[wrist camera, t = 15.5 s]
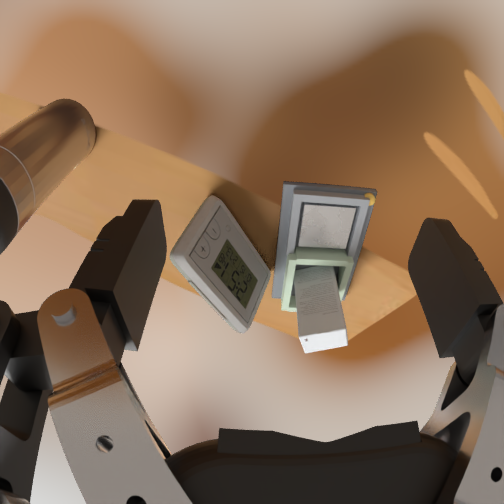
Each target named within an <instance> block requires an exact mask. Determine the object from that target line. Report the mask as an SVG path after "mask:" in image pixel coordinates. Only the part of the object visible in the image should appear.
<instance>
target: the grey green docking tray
mask: <svg viewBox="0 0 504 504" xmlns="http://www.w3.org/2000/svg"><path fill="white" fill-rule="evenodd" d="M376 195H377V191H376V189H370V188H361V187H351V186H339V185H329V184H317V183H303V182H286V181H284V183H283V192H282V203H281V213H280V223H279V232H278V242H277V252H276V261H275V270H274V279H273V288H272V298H281V308H282V310H286V311H288V312H297V308H296V297H295V285H294V273H295V270H300V269H305V268H309V267H314V266H319V265H321V266H333V267H334V272H335V276H336V281H337V285H338V290H339V295H340V300H341V301H342V300H345V297H346V294H347V291H348V288H349V285H350V282H351V279H352V276H353V273H354V270H355V267H356V264H357V261H358V257H359V254H360V251H361V248H362V244H363V241H364V238H365V234H366V231H367V227H368V224H369V221H370V217H371V213H372V210H373V206H374V203H375V199H376ZM304 202H312V203H326V204H339V205H351V206H355V207H356V210H355V214H354V218H353V222H352V226H351V230H350V234H349V238H348V242H347V245H346V249H339V248H320V247H301V246H298V239H299V233H300V226H301V219H302V212H303V205H304Z"/></svg>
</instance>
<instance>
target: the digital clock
mask: <svg viewBox="0 0 504 504" xmlns="http://www.w3.org/2000/svg"><path fill="white" fill-rule="evenodd" d="M170 260H171V262H172V263H173V265H174V266H175V267H176V268H177V269H178V270H179V271H180V273H181V274H182V275H183V276H184V277H185V278H186V279H187V280H188V282H189V283H190V285H191V286H192V287H193V288H194V289H195V290H196V291H197V292H198V293H199V294H200V295H201V296H202V298H203V299H204V300H205V301H206V302H207V303H208V304H209V305H210V306H211V307H212V308H213V309H214V310H215V311H216V312H217V314H218V315H219V316H220V317H221V318H222V319H223V320H225V321H226V322H227V323H228V324H229V325H230V326H231V327H232V328H233V329H234V330H235V331H237V332H239V333H245V332H246V331H247V330H248V329H249V327H250V326H251V323H252V321H253V319H254V316H255V314H256V312H257V309H258V307H259V304H260V302H261V299H262V297H263V294H264V292H265V289H266V287H267V284H268V282H269V279H270V275H271V273H270V270H269V269H268V267H267V266H266V264H265V262H264V261H263V259H262V258H261V257H260V255H259V254H258V252H257V251H256V249H255V248H254V246H253V245H252V243H251V242H250V240H249V239H248V238H247V236H246V235H245V233H244V232H243V230H242V229H241V227H240V226H239V224H238V223H237V221H236V220H235V219H234V217H233V216H232V214H231V213H230V211H229V210H228V208H227V207H226V206H225V204H224V203H223V202H222V201H221V200H220V199H219V198H217V197H216V196H214V195H211V196H209V197H208V198H206V199H205V201H204V202H203V203H202V205H201V206H200V208H199V209H198V211H197V212H196V214H195V215H194V217H193V218H192V220H191V221H190V223H189V224H188V225H187V227H186V228H185V230H184V232H183V233H182V235H181V236H180V238H179V239H178V241H177V242H176V244H175V245H174V247H173V249H172V251H171V253H170Z"/></svg>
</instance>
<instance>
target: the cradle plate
mask: <svg viewBox="0 0 504 504" xmlns="http://www.w3.org/2000/svg"><path fill="white" fill-rule="evenodd" d="M355 210H356V207H355V206H351V205H339V204H326V203H312V202H304V205H303V212H302V219H301V226H300V233H299V239H298V246H301V247H320V248H339V249H346V245H347V242H348V238H349V234H350V230H351V226H352V222H353V218H354V214H355Z"/></svg>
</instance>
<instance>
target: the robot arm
mask: <svg viewBox="0 0 504 504" xmlns="http://www.w3.org/2000/svg"><path fill="white" fill-rule="evenodd" d="M95 137H96V132H95V125H94V122H93V119H92V117H91V115H90V114H89V112H88V111H87V110H86V108H84V107H83V106H82V105H81V104H80V103H78V102H76V101H74V100H70V99H60V100H56V101H54V102H52V103H50V104H48V105H47V106H45V107H43V108H42V109H40V110H38V111H36V112H35V113H33V114H31V115H30V116H28V117H27V118H25V119H23V120H22V121H20V122H19V123H17V124H16V125H14V126H13V127H11V128H10V129H8V130H7V131H5V132H4V133H2V134H1V135H0V254H1V253H2V252H3V251H4V250H5V249H6V248H7V246H8V245H9V244H10V242H11V241H12V240H13V238H14V237H15V236H16V235H17V233H18V232H19V231H20V230H21V228H22V227H23V226H24V225H25V223H26V222H27V221H28V220H29V219H30V217H31V216H32V215H33V214H34V212H35V211H36V210H37V209H38V208H39V207H40V205H41V204H42V203H43V202H44V201H45V200H46V199H47V198H48V196H49V195H50V194H51V193H52V192H53V191H54V190H55V189H56V188H57V187H58V185H59V184H60V183H61V182H62V181H63V180H64V179H65V178H66V177H67V176H68V175H69V174H70V173H71V172H72V171H73V170H74V169H75V168H76V167H77V166H78V165H79V164H80V163H81V162H82V161H83V160H84V159H85V158H86V157H87V156H88V155H89V154H90V152H91V150H92V149H93V146H94V143H95ZM96 239H97V240H96V241H95V242H94V243H93V245H92V247H91V251H89V252H88V254H87V256H86V257H85V259H84V261H83V263H82V264H81V266H80V268H79V270H78V272H77V274H76V276H75V277H74V279H73V281H72V283H71V285H70V287H69V289H63V290H60V291H58V292H55V293H53V294H52V295H50V296H49V297H48V298H47V299H46V300H45V301H44V302H43V304H42V305H41V307H40V309H39V310H38V311H32V312H26V313H19V314H14V313H13V311H12V310H11V308H10V307H9V305H8V304H7V303H6V302H4V301H1V300H0V385H1V381H2V379H3V376H4V375H5V376H6V377H7V378H8V381H7V384H6V387H5V390H4V393H3V396H2V399H1V402H0V504H30V497H31V490H32V483H33V477H34V471H35V466H36V461H37V456H38V450H39V445H40V441H41V437H42V432H43V428H44V423H45V419H46V415H47V412H48V408H49V409H50V413H51V416H52V419H53V422H54V425H55V428H56V431H57V434H58V437H59V440H60V443H61V445H62V448H63V450H64V453H65V456H66V458H67V461H68V463H69V466H70V468H71V471H72V473H73V475H74V478H75V480H76V482H77V484H78V486H79V489H80V491H81V493H82V495H83V497H84V499H85V501H86V503H87V504H504V304H503V302H502V300H501V298H500V296H499V294H498V293H497V290H496V289H495V287H494V285H493V283H492V281H491V280H490V278H489V276H488V274H487V273H486V271H484V267H483V266H482V264H481V262H480V261H478V257H477V256H476V255H475V253H474V251H473V249H472V248H471V247H470V246H469V245H468V244H467V243H466V242H465V241H464V240H463V239H462V238H461V237H460V236H459V234H458V233H457V231H456V229H455V228H454V226H453V225H452V223H451V222H450V221H449V220H445V219H435V218H427V219H425V220H424V222H423V224H422V226H421V229H420V231H419V234H418V236H417V239H416V241H415V244H414V246H413V249H412V251H411V253H410V256H409V261H408V270H409V275H410V277H411V280H412V282H413V285H414V287H415V290H416V292H417V295H418V297H419V300H420V302H421V305H422V308H423V311H424V313H425V316H426V319H427V322H428V324H429V327H430V330H431V333H432V336H433V339H434V342H435V345H436V348H437V351H438V354H439V357H440V358H445V357H454V358H455V362H454V363H453V365H452V366H451V368H450V370H449V373H448V376H447V378H446V381H445V384H444V387H443V389H442V392H441V394H440V397H439V399H438V402H437V404H436V407H435V409H434V411H433V414H432V416H431V417H430V419H429V420H428V422H427V423H426V424H425V426H424V427H423V428H422V429H421V431H420V432H419V428H418V422H417V421H412V422H406V423H398V424H391V425H383V426H375V427H372V428H369V429H367V430H364V431H361V432H358V433H355V434H353V435H350V436H347V437H344V438H341V439H338V440H334V441H331V442H320V441H314V440H310V439H305V438H300V437H296V436H291V435H287V434H283V433H279V432H275V431H259V430H238V429H223V428H220V429H219V438H218V439H214V440H208V441H204V442H201V443H197V444H194V445H192V446H189V447H187V448H184V449H182V450H181V451H178V452H176V453H174V454H173V455H172V454H171V452H170V450H169V449H168V447H167V445H166V444H165V442H164V441H163V439H162V437H161V436H160V434H159V432H158V431H157V429H156V428H155V426H154V424H153V423H152V421H151V419H150V418H149V416H148V414H147V413H146V410H145V409H144V407H143V405H142V403H141V401H140V399H139V397H138V395H137V394H136V391H135V389H134V388H133V385H132V383H131V382H130V380H129V377H128V376H127V373H126V371H125V369H124V367H123V365H122V363H121V358H122V355H123V352H124V349H125V350H132V351H138V348H139V344H140V340H141V337H142V334H143V330H144V327H145V324H146V320H147V317H148V314H149V310H150V307H151V304H152V301H153V297H154V294H155V291H156V288H157V285H158V282H159V279H160V276H161V273H162V270H163V267H164V264H165V260H166V252H167V245H166V237H165V231H164V224H163V218H162V211H161V205H160V202H159V201H158V200H132V202H131V203H130V205H129V206H128V208H127V210H126V212H125V213H124V215H123V216H116V217H115V218H113V219H112V220H111V221H110V222H109V223H107V224H106V225H105V226H104V227H103V228H102V230H101V232H100V233H99V235H98V237H97V238H96ZM53 391H54V392H53Z"/></svg>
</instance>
